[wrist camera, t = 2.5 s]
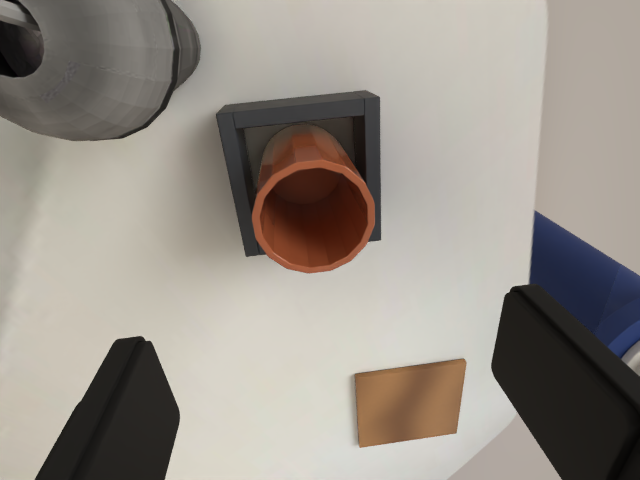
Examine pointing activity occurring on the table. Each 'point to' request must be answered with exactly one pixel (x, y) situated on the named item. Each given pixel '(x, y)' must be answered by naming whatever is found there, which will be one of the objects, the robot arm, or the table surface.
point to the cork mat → (409, 402)
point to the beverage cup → (92, 64)
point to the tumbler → (310, 201)
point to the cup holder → (293, 111)
